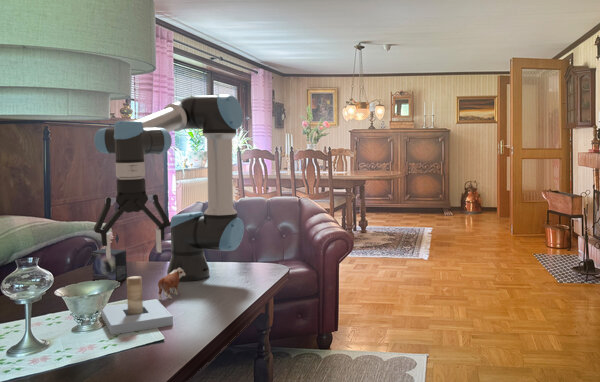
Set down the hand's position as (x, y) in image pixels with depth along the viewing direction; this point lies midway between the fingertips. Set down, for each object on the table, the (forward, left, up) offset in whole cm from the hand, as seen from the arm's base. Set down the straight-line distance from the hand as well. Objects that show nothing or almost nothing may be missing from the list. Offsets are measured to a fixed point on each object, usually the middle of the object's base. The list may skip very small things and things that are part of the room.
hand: (134, 254), depth 157 cm
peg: (0, 0, -18) cm, 18 cm away
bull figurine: (-19, +15, -19) cm, 30 cm away
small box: (-50, +1, -19) cm, 53 cm away
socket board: (0, 0, -18) cm, 18 cm away
